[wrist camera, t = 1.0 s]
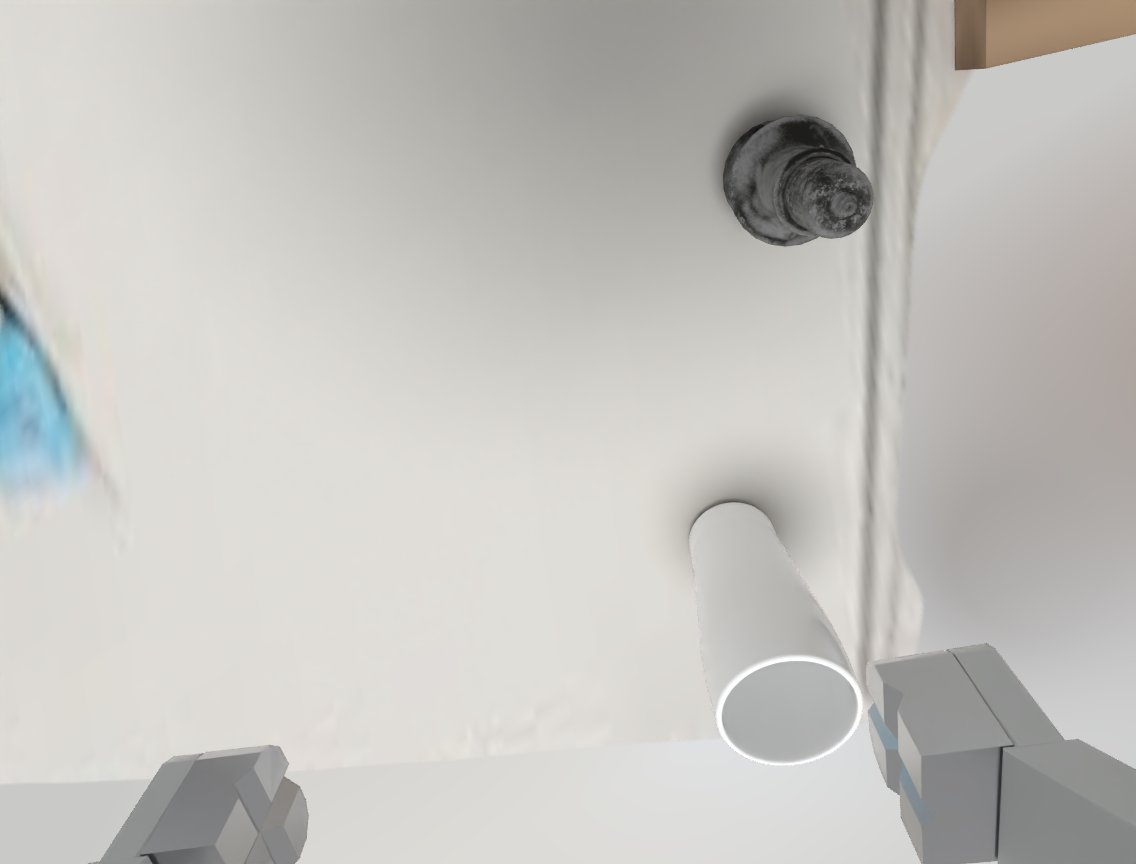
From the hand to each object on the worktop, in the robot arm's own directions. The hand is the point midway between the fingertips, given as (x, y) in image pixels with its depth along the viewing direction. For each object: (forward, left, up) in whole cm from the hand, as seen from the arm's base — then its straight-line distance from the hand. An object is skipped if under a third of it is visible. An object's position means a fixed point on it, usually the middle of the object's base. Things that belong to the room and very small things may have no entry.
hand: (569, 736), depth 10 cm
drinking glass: (+19, +6, -33) cm, 39 cm away
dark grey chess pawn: (-2, +11, -33) cm, 35 cm away
